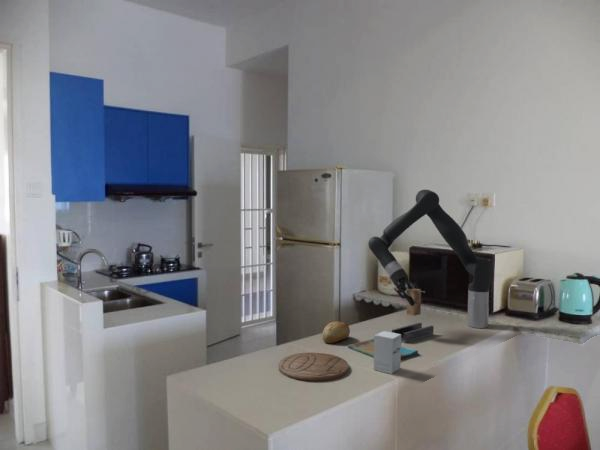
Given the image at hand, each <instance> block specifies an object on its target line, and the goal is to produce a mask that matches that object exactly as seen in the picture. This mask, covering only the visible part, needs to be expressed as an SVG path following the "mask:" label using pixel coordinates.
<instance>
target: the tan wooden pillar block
mask: <svg viewBox="0 0 600 450" xmlns="http://www.w3.org/2000/svg"><path fill="white" fill-rule="evenodd" d="M408 293H409V294H410V296H411V297H412V299H413V300H414V302H415V304H414V305H413V306H411V305H410V304H409V302H408V301H407V300H406V301H407V302H406V303H407V304H406V315H409V316H413V317H414V316H420V315H421V312H422V311H421V310H422V309H421V307H422V306H421V305H422V303H421V299H422V289H420V288H419V289H415V288H414V289H408Z"/></svg>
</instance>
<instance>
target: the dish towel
mask: <svg viewBox="0 0 600 450" xmlns="http://www.w3.org/2000/svg"><path fill="white" fill-rule="evenodd" d="M347 349H350V350H352V351H355V352H358V353H361V354H363V355H365V356H368V357H371V358H373V359H374V338H372V339H368V340H365V341H359V342H356V343H351V344H348V346H347ZM418 356H420V353H419V350H417V349H414V350H412V349H410V348H406V347H405V346H401V361H404V360H407V359H412V358H414V357H415V358H416V357H418Z"/></svg>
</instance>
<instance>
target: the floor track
mask: <svg viewBox="0 0 600 450" xmlns="http://www.w3.org/2000/svg"><path fill="white" fill-rule="evenodd" d="M434 328H435V327H434V325H427V326H424V327H423V323H422V322H417V323H413V324H409V325H405V326H402V327H397V328H393V329H391V332H392V333H397V334H401V343H403V344H408V343H410V342H413V341H416V340H420V339H424V338H428V337H430V336H433V335H434Z"/></svg>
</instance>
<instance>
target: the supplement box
mask: <svg viewBox="0 0 600 450" xmlns="http://www.w3.org/2000/svg"><path fill="white" fill-rule="evenodd" d="M373 339H374V358H373V370H374V371H379V372H382V373H385V374H390V375H392V374H393V373H395V372H397V371H399V369H401V364H402V363H401V361H402V360H401V347H402V342H401V334H397V333H392V331H386V330H383V331H381V332H379V333H376V334H375V335H374V338H373Z"/></svg>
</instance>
